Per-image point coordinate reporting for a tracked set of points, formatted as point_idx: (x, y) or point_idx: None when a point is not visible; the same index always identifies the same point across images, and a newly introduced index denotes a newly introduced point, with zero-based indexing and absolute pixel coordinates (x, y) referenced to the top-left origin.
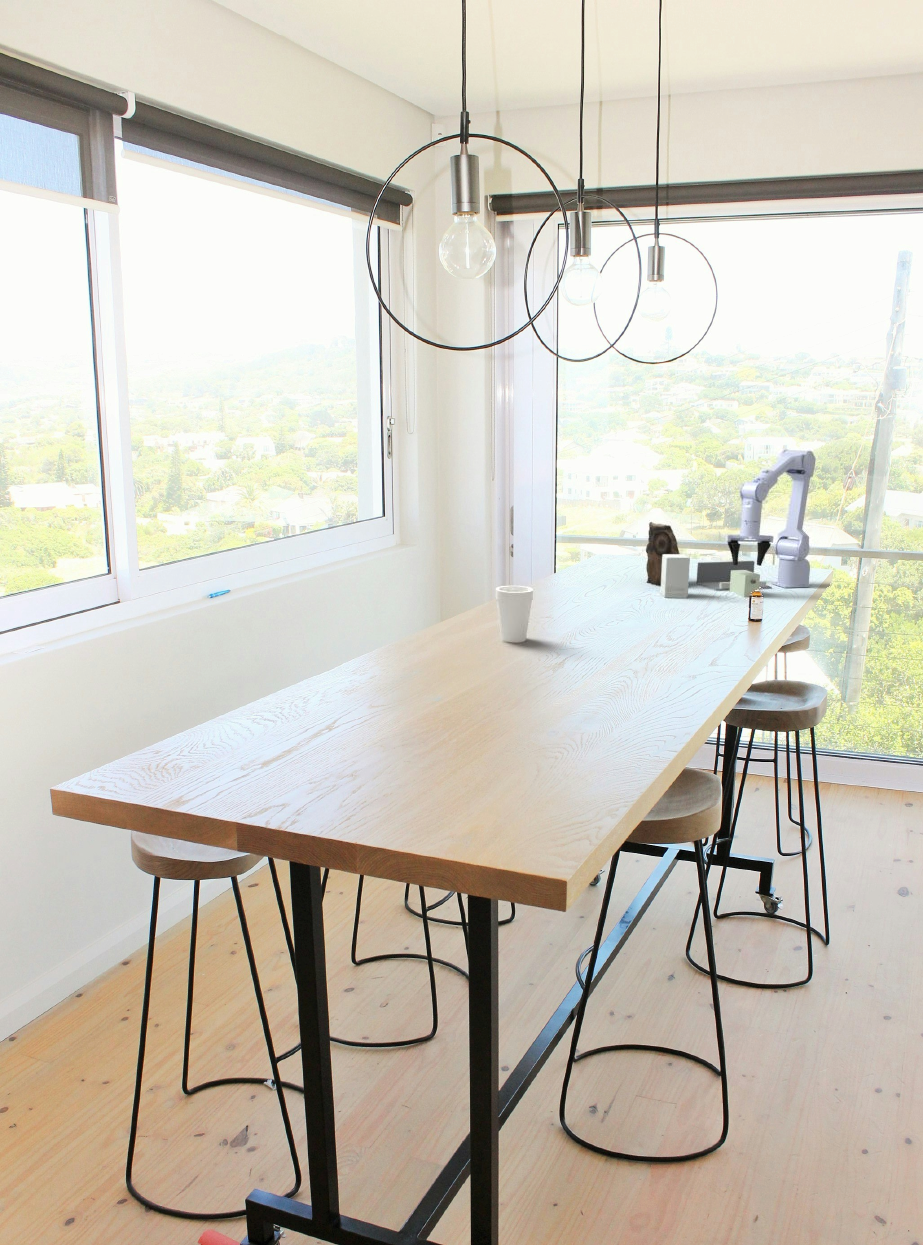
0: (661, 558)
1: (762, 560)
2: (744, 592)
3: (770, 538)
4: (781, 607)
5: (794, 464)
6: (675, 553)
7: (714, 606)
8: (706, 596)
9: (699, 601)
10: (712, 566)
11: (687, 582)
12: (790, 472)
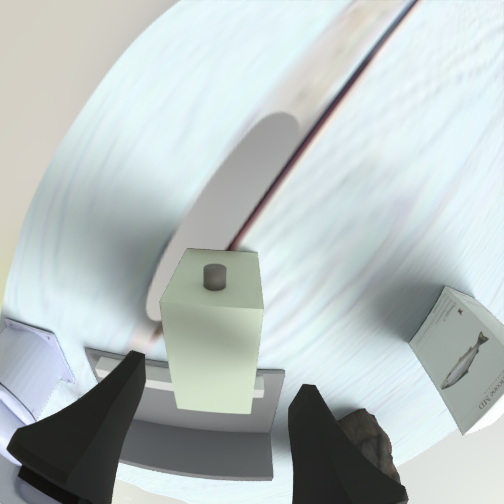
0: (394, 469)
1: (114, 370)
2: (258, 261)
3: (4, 489)
4: (231, 19)
5: None
6: None
7: (459, 140)
8: (382, 298)
9: (451, 229)
10: (231, 467)
11: (474, 313)
12: None
